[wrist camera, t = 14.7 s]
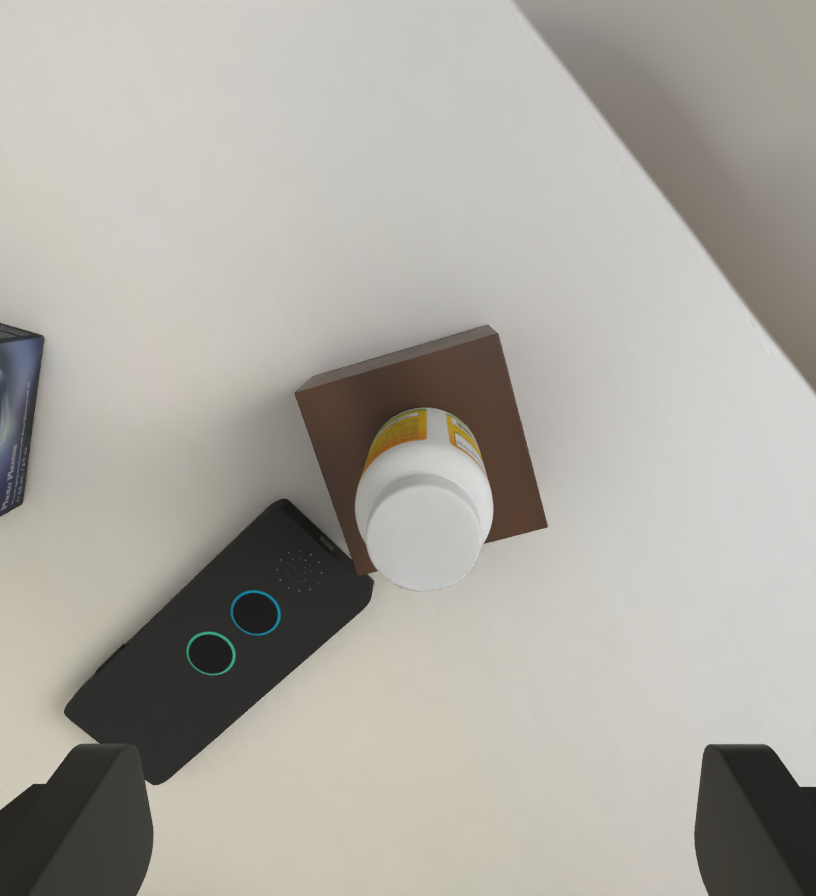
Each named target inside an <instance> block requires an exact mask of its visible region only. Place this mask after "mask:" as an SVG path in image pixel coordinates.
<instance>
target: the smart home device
mask: <svg viewBox="0 0 816 896" xmlns="http://www.w3.org/2000/svg"><path fill="white" fill-rule="evenodd" d="M373 585H374V581H373V580H372V579H371V578H370V577H369V576H368V575H367V574H365V575H361V576H358V575H357V572H356V569H355V566H354V563H353V561H352V560H351V559H350V558H349V557H348V556H347V555H346V554H345V553H344V552H343V551H342V550H341V549H339V548H338V547H337V546H336V545H335V544H334V543H333V542H332V541H331V540H330V539H329V538H328V537H327V536H326V535H325V534H323V533H322V532H321V531H320V530H319V529H318V528H317V527H316V526H315V525H314V524H313V523H312V522H311V521H310V520H309V519H308V518H306V517H305V516H304V515H303V514H302V513H301V512H300V511H299V510H298V509H297V508H296V507H295V506H294V505H293V504H292V503H290V502H289V501H288V500H287V499H281V500H278V501H276V502H274V503H273V504H271V505H270V506H269V507H268V508H267V509H266V510H265V511H264V512H263V513H262V514H261V515H259V516H258V517H257V518H256V519H255V520H254V521H253V522H252V523H251V524H250V525H249V526H248V527H247V528H246V529H245V530H244V531H243V532H242V533H241V534H240V535H239V536H238V537H237V538H236V539H235V540H233V541H232V542H231V543H230V544H229V545H228V546H227V547H226V548H225V549H224V550H223V551H222V552H221V553H220V554H219V555H218V556H217V557H216V558H215V559H214V560H213V561H212V562H211V563H210V564H208V565H207V566H206V567H205V568H204V569H203V570H202V571H201V572H200V573H199V574H198V575H197V576H196V577H195V578H194V579H193V580H192V581H191V582H190V583H189V584H188V585H187V586H186V587H185V588H184V589H182V590H181V591H180V592H179V593H178V594H177V595H176V596H175V597H174V598H173V599H172V600H171V601H170V602H169V603H168V604H167V605H166V606H165V607H164V608H163V609H162V610H161V611H160V612H159V613H158V614H156V615H155V616H154V617H153V618H152V619H151V620H150V621H149V622H148V623H147V624H146V625H145V626H144V627H143V628H142V629H141V630H140V631H139V632H138V633H137V634H136V635H135V636H134V637H133V638H132V639H130V640H129V641H128V642H127V643H126V644H123V645H122V646H121V647H120V648H119V649H118V650H117V651H116V652H115V653H114V654H113V655H112V656H111V657H110V658H109V659H107V660H106V661H105V662H104V663H103V664H102V665H101V666H100V667H99V668H98V670H97V671H96V673H95V674H94V675H93V676H92V677H91V678H90V679H89V680H88V681H87V682H86V683H85V684H84V685H83V686H82V687H81V688H80V689H79V691H78V692H77V693H76V694H75V695H74V697H73V698H72V699H71V700H70V701H69V703H68V704H67V705H66V707H65V710H64V714H65V716H66V717H68V718H69V719H70V720H71V721H72V722H73V723H75V724H76V725H77V726H78V727H80V728H81V729H82V730H83V731H85V732H86V733H87V734H88V735H90V736H91V737H92V738H93V739H95V740H96V741H97V742H98V743H100V744H134V745H135V746H136V747H137V748H138V750H139V753H140V757H141V763H142V768H143V774H144V779H145V780H146V781H147V782H149V783H151V784H152V785H159V784H161V783H164V782H165V781H167V780H168V779H169V778H171V777H172V776H173V775H174V774H175V773H176V772H177V771H179V770H180V769H181V768H182V767H183V766H184V765H185V764H187V763H188V762H189V761H190V760H191V759H192V758H193V757H195V756H196V755H197V754H198V753H199V752H201V751H202V750H203V749H204V748H205V747H206V746H207V745H209V744H210V743H211V742H212V741H213V740H214V739H216V738H217V737H218V736H219V735H220V734H221V733H222V732H223V731H225V730H226V729H227V728H228V727H229V726H230V725H231V724H233V723H234V722H235V721H236V720H237V719H238V718H239V717H241V716H242V715H243V714H244V713H245V712H246V711H247V710H248V709H250V708H251V707H252V706H253V705H254V704H255V703H257V702H258V701H259V700H260V699H261V698H262V697H263V696H265V695H266V694H267V693H268V692H269V691H270V690H271V689H273V688H274V687H275V686H276V685H277V684H278V683H279V682H281V681H282V680H283V679H284V678H285V677H286V676H287V675H289V674H290V673H291V672H292V671H293V670H294V669H295V668H297V667H298V666H299V665H300V664H301V663H302V662H304V661H305V660H306V659H307V658H308V657H309V656H310V655H312V654H313V653H314V652H315V651H316V650H317V649H318V648H320V647H321V646H322V645H323V644H324V643H325V642H326V641H328V640H329V639H330V638H331V637H332V636H333V635H334V634H336V633H337V632H338V631H339V630H340V629H341V628H342V627H344V626H345V625H346V624H347V623H348V622H349V621H351V620H352V619H353V618H354V617H355V616H356V615H357V614H359V613H360V612H361V611H362V610H363V609H364V608H365V607H366V606H367V604H368V603H369V601H370V599H371V596H372V590H373Z"/></svg>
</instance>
